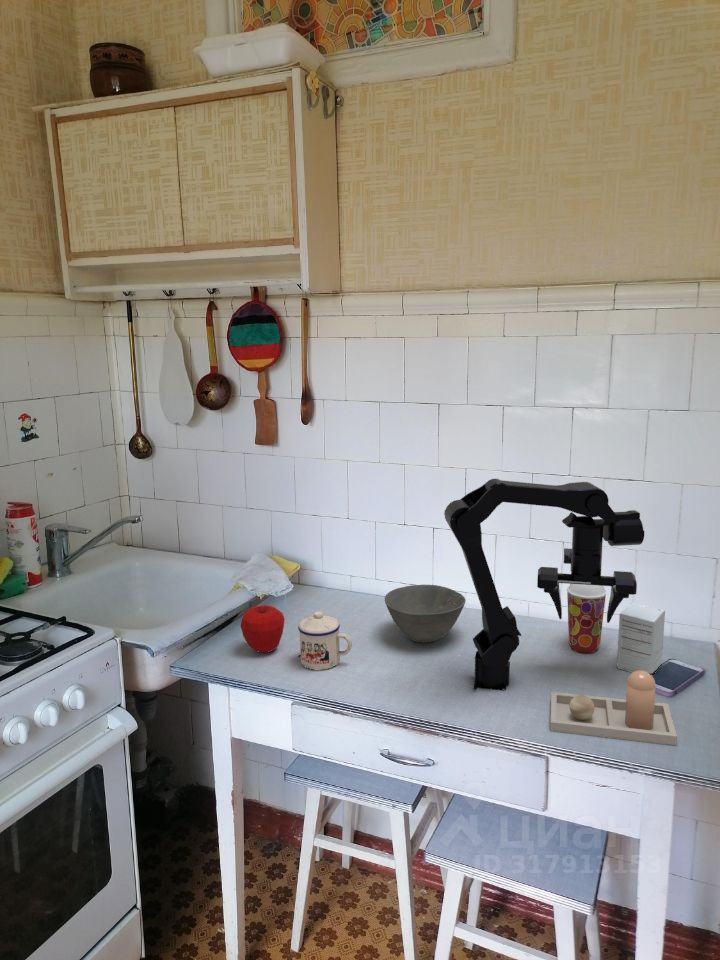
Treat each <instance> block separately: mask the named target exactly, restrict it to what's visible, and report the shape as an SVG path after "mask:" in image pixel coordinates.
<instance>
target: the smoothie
mask: <svg viewBox="0 0 720 960" xmlns="http://www.w3.org/2000/svg"><path fill="white" fill-rule="evenodd" d="M566 592H567V593H566V595H567V597H566V599H567V624H568V625H567V630H568V643H569V644H570V647H571V649H572V650H574V651H576V652H578V653H583V654H584V653H585V654H588V653H589V654H590V653H594V652H597V651H598V649H599V646H601V639H602V633H603V632H602V631H603V630H602V629H603V622H604V613H605V612H604V611H605V607H606V597H607V590H606V589H605V586H599V585H584V584H569V586H567V589H566Z"/></svg>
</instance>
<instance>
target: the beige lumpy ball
mask: <svg viewBox="0 0 720 960" xmlns="http://www.w3.org/2000/svg"><path fill="white" fill-rule="evenodd" d="M585 695H586V694H577V696H575V697H574V698H572V700H571V702H570V711H571V713H572V715H573V716H574V717H576V718H577V719H580V720H586V719H589V718H590V717H591V716H592V715H593V713H594V704H593V702H592V700H591V699H590V698H589V697H587V696H588V695H587V696H585Z"/></svg>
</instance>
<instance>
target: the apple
mask: <svg viewBox="0 0 720 960" xmlns="http://www.w3.org/2000/svg"><path fill="white" fill-rule="evenodd" d="M284 625H285V616H284V613H283V612H282V611H280V610H279V609H278V608H276V607H275V606H272V605H267V604H264V605H263V604H262V605H256V606H253V607H249V608H248V609H247V610H246V611H245V612H244V613H243V614H242V617H241V622H240V629H241V632H242V637H243V638H244V640H245V641H246V645H248V647H249V648H250V649H251V650H254V651H255V652H257V651H259V652H258V653H260V652H267V653H269V652H268V651H270V652H272V651H274V650H275V649H277V647H278V646H279V644H280V642H281V640H282V635H283V632H284V627H285V626H284ZM273 649H274V650H273ZM271 650H272V651H271Z"/></svg>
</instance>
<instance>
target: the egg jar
mask: <svg viewBox="0 0 720 960" xmlns="http://www.w3.org/2000/svg"><path fill="white" fill-rule="evenodd" d="M626 679H627V680H626V689H625V691H626V694H625V700H626V709H625V724H626V726H627V727H629V728H633V729H642V730H651V729H652V728H653V721H654V704H655V703H656V702H655V700H656V685H657V684H656V681H655V678H654V676H653V675H650V674H649V673H648V672H646V671H642V670H637V671H634V672H630V674H629V675H628V677H627V678H626Z"/></svg>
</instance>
